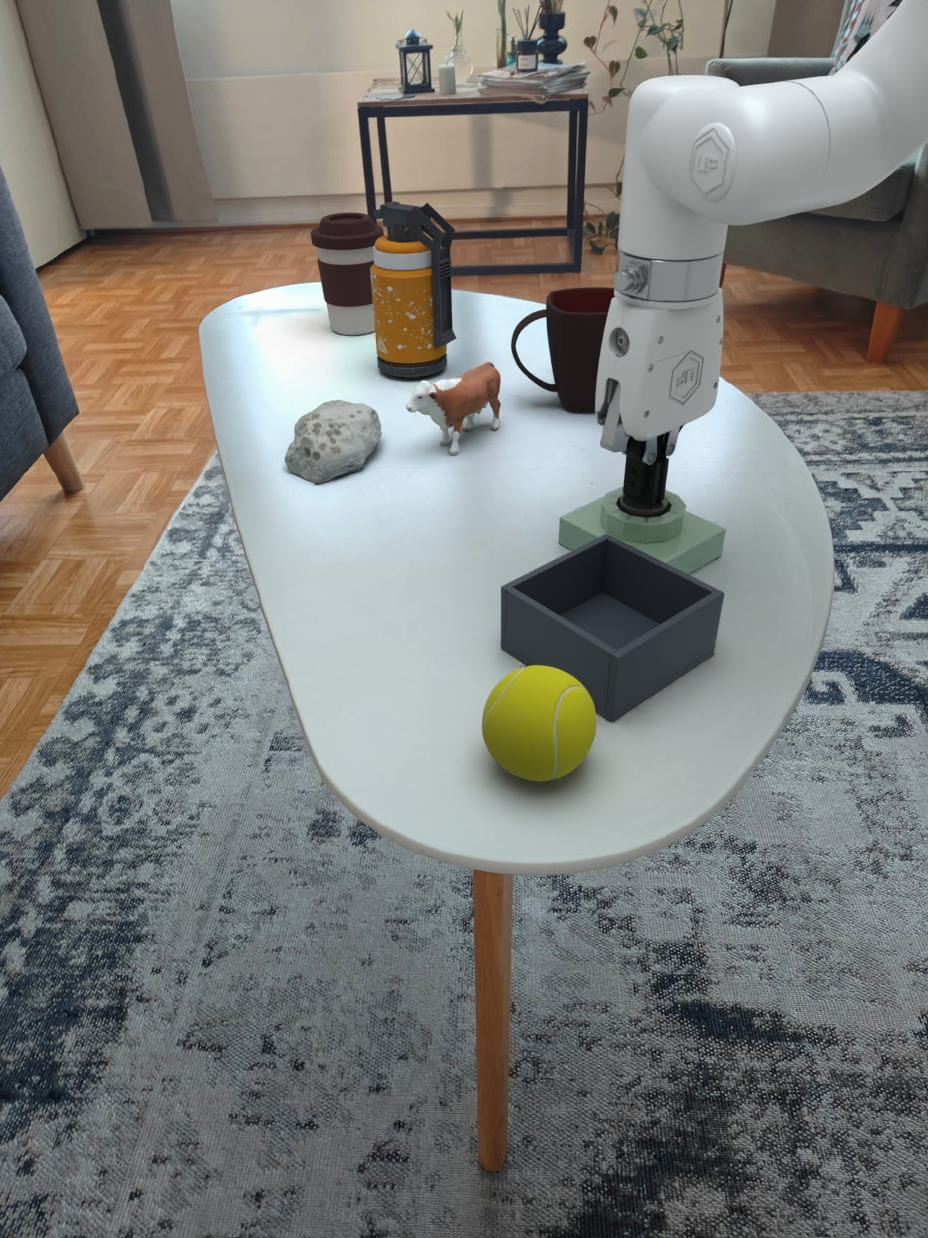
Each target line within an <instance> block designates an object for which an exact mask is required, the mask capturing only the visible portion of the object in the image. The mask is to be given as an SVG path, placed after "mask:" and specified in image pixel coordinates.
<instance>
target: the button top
mask: <svg viewBox="0 0 928 1238" xmlns="http://www.w3.org/2000/svg"><path fill="white" fill-rule="evenodd" d="M667 507H668V498H667V497H666V496H664V500H662V501H661V502H659V503H657V502H656V503H655V504H654V505H652V506H650V507H648V506H646V505H644V504H642V503H639V502H637V501H635V500H633V499H631V498H629V497H626V496H625V495H624V494H622V495H621V497H620V507H619V509H620V511H622V512H624V513H627V514H629V515H631V516H637V517H644V518H651V517H659V516H661V515H663V514H665V513H667Z"/></svg>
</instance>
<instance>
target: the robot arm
mask: <svg viewBox="0 0 928 1238" xmlns="http://www.w3.org/2000/svg"><path fill="white" fill-rule="evenodd" d="M626 120H627V121H626V133H625V143H624V145H625V146H624V156H623V157H624V158H623V170H622V171H623V172H622V184H621V195H620V196H621V197H620V210H619V224H618V236H617V249H616V262H615V274H614V276H613V281H612V282H613V286H614V287H613V288H614V295H615V297H614V298H612V300H611V304H610V308H609V312H608V316H607V320H606V325H605V329H604V335H603V340H602V346H601V352H600V359H599V366H598V374H597V384H596V397H595V412H594V413H595V414H594V415H595V420H596V422H597V424H598V425H600V426H602V427H603V428H602V429H603V430H602V432H601V437H600V441H599V442H600V443H599V446H600V448H602V449H604V450H606V451H610V452H612V453H621V454H622V455H624V456H625V462H624V474H623V484H622V485H623V486H622V487H623V494H624V495H625V496H626V497H629V498H631V499H633V500H635V501H637V502H639V503H642V504H644V505H646V506H648V507H650V506H652V505H654V504H655V503H656V502H657V503H659V502H661V501H662V500H664V496H665V490H666V489H667V480H668V471H669V462H670V458H669V457H671V456H672V455H674V453H675V450H676V446H677V443H678V439H679V435H680V432H681V431H682V429H683V428H684V426H686V425H687V424H689V423H691V422H693V421H696V420H698V419H700V418H702V417H704V416H705V415H708V413H710V411H711V410H712V409H713V408H714V406H715V405H716V401H717V397H718V392H719V391H718V390H719V385H720V375H721V367H722V355H723V341H724V298H723V289H722V288H721V287H720V283H721V277H722V269H723V264H724V263H723V262H724V256H725V249H726V243H727V234H728V227H729V226H747V225H748V226H749V225H754V224H758V223H763V222H767V221H772V220H777V219H781V218H784V217H788V216H791V215H796V214H800V213H805V212H811V211H814V210H819V209H825V208H829V207H833V206H838V205H842V204H844V203H847V202H850V201H852V200H854V199H856V198H858V197H860V196H862V195H864V194H866V193H867V192H868V191H870V190H872V189H874V187H876V186H878V185H879V184H880V183H881V182H884V180H885V179H887V178H888V177H889V176H891V175H892V174H893V173H894V172H896V171H897V170H898V169H899V168H901V166H902V165H903V164H905V163H906V162H907V161H908V160H910V159H911V158H912V157H913V156H914V155H915V154H916V153H918V152H919V151H920V150H921V149H922V148H923V147H924V146H926V144H928V0H902V1H901V2H900V3H899V5H898V6H897V7H896V9H895V10H894V11H893V13H892V14H891V15H890V16H889V17H888V18H887V20H886V21H885V22H884V23H883V24H882V25H881V26H880V27H879V29H878V30H876V32H875V33H874V34H873V35H872V36H871V37H870V38H869V39H868V40H867V41H866V42H865V44H864V45H863V46H862V47H861V48H860V49H859V50H858V51H857V52H856V53H855V54H854V55H853V56H852V57H851V58H850V59H849V60H848V61H847V62H846V63H845V64H843V66H842V67H841V68H840V69H839V70H838V71H837V72H835V73H834V74H833V75H822V76H812V77H805V78H798V79H797V78H796V79H787V80H781V81H774V82H768V83H767V82H766V83H759V84H750V85H743V86H740V84H738V82H736V81H735V80H732V79H730V78H728V77H721V76H714V75H705V74H704V75H703V74H701V75H700V74H695V75H694V74H691V75H690V74H683V75H682V74H679V75H678V74H677V75H664V76H659V77H652V78H649V79H647V80H645V81H642V82H641V83H640V84H638V85H637V86H636V88H635V90H633V92H632V95H631V97H630V100H629V103H628V109H627V119H626Z"/></svg>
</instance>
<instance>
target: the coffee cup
mask: <svg viewBox="0 0 928 1238" xmlns="http://www.w3.org/2000/svg"><path fill="white" fill-rule="evenodd" d="M384 235H385V232H384V228H383V226H381V225H380V224H376V223H374V220H373V219H372V216H370V215H369V214H367V213H363V212H337V213H332V214H331V213H330V214H327V215H324V216H322V217H321V219H320V221H319V224H318V226H317V227H315V228H313V229H312V230H311V231H310V240H311V244H312V246H314V247H316V252H317V259H316V260H317V266H318V272H319V273H318V274H319V278H320V284H321V288H322V295H323V300H324V302H325V303H326V309H327V312H328V313H327V314H328V320H329V327H330V329H331V330H332V331H333V332H334V333H336V334H339V335H344V336H359V335H366V334H371V333H375V325H374V312H373V300H372V287H371V274H370V268H371V267H372V265H373V264H374V252H373V247H374V246H375V242H376V240H377V239H378V238H380V237H382V236H384Z"/></svg>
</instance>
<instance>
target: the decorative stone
mask: <svg viewBox="0 0 928 1238" xmlns="http://www.w3.org/2000/svg"><path fill="white" fill-rule="evenodd" d="M293 432H294V433H293V434H294V438H293V441H292V442H291V443H290V444H289V446H288V448H287V450H286V453H285V455H284V462H285V464H286V467H287V469H288V470H289V471H290V472H291V473H293V474H294V475H297V476H299V477H301V478H302V479H304V480H305V481H310V482H313V483H314V484H316V485H319V484H323V483H326V482H328V481H332V480H333V479H334V478H336V477H339V476H345V475H347V474H350V473H355V472H358V471H360V470H362V468H363V466H364V465H365V462H366V459H367V458H368V457H369V456H370V455H371V454H372V453H373V451H374V449H375V448H376V446H377V444H378V442H379V441H380V439H381V438H382V434H383V433H382V424H381V421H380V418H379V414H378V412H377V410H375V409H374V408H373V407H372V406H369V405H367V404H365V403H361V402H360V403H353V402H350V401H346V400H341V399H335V400H328V401H325V402H323V403H321V404H319V405H318V406H317V407H316V408H314V409H313V410H311V411H309V412H307V413H306V414H303V415H302V416H301V417H299V419H298V420H297V422H295V424H294V430H293Z"/></svg>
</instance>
